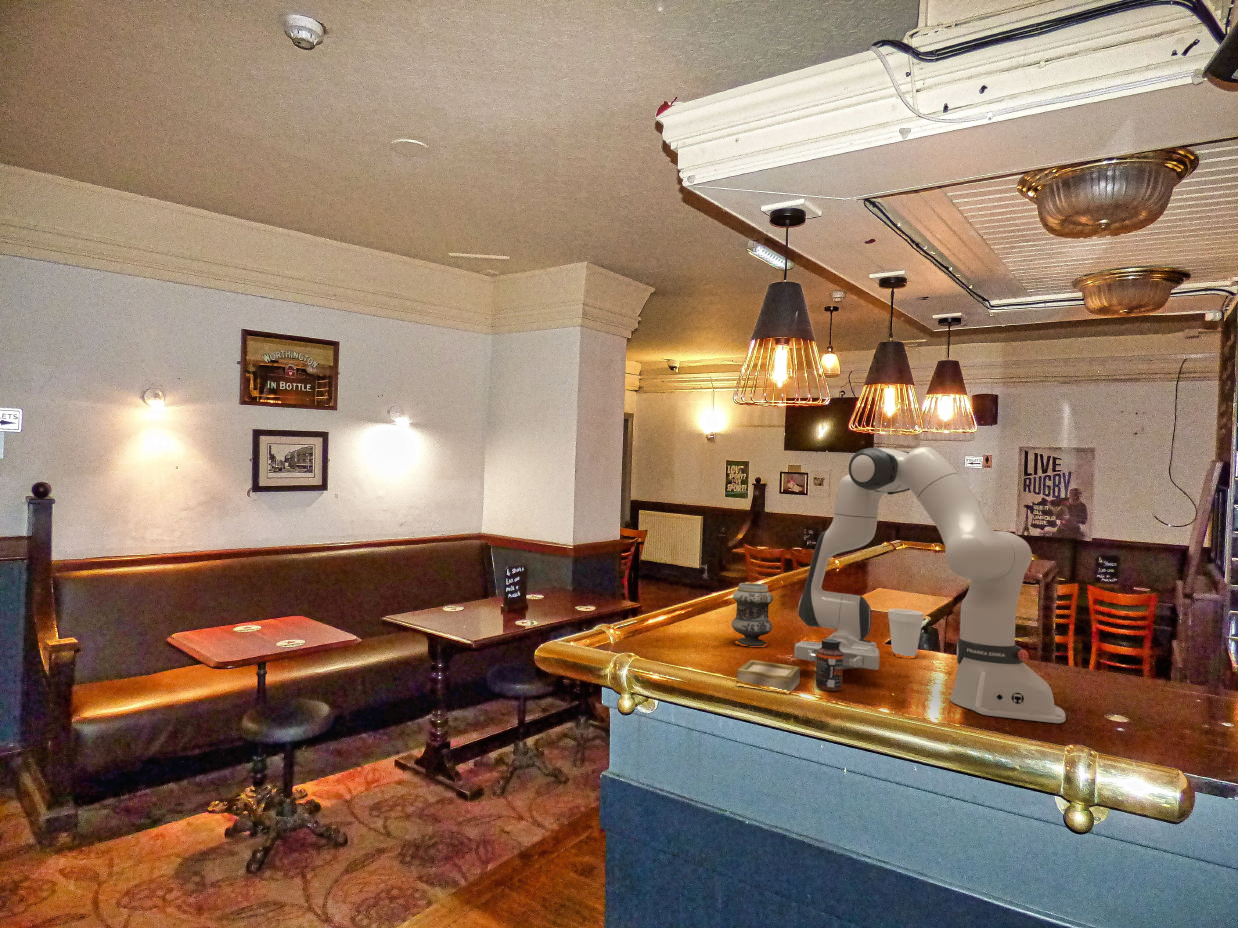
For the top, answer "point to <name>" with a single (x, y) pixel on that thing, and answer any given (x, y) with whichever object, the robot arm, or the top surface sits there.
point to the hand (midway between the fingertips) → (831, 660)
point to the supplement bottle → (829, 666)
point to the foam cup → (905, 630)
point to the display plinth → (769, 674)
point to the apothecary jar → (752, 613)
